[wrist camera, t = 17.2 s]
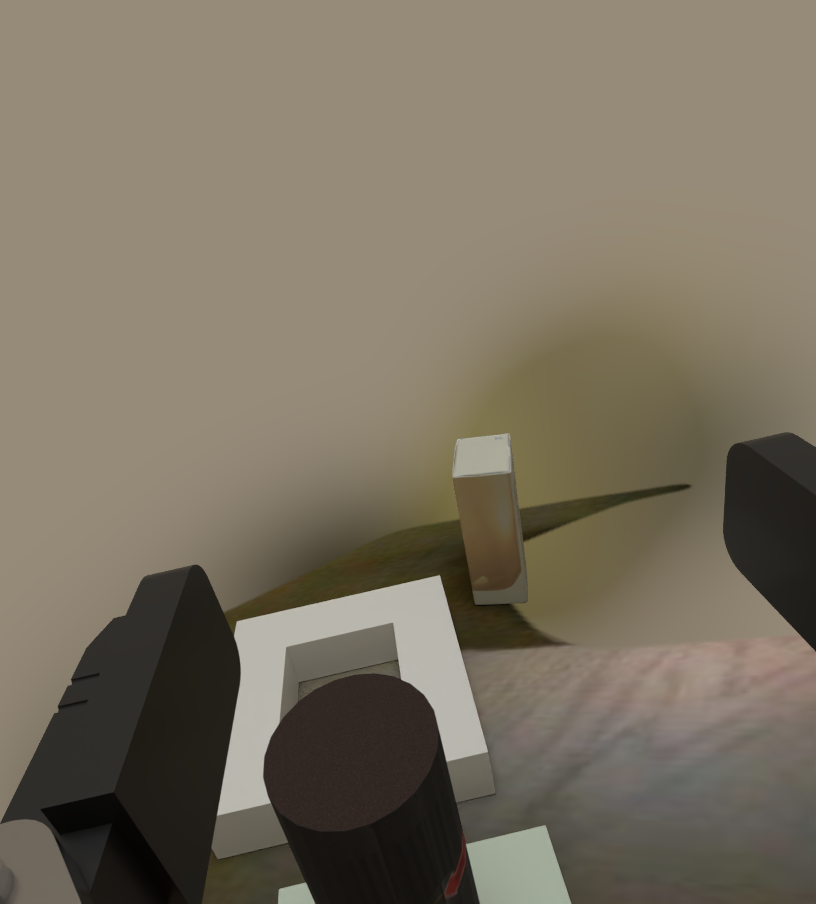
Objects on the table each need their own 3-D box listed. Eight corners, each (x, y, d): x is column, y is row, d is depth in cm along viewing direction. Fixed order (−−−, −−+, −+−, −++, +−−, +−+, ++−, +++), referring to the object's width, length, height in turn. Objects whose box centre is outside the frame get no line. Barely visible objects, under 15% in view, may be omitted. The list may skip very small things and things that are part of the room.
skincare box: (476, 559, 54) (455, 436, 49) (526, 556, 54) (510, 430, 48) (473, 609, 49) (449, 475, 43) (529, 606, 48) (511, 469, 43)
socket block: (446, 610, 49) (439, 575, 48) (495, 793, 35) (487, 751, 33) (250, 655, 49) (237, 621, 47) (217, 859, 34) (196, 820, 33)
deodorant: (333, 988, 27) (228, 762, 21) (422, 874, 31) (356, 651, 24) (434, 1109, 23) (342, 876, 17) (522, 961, 27) (475, 722, 20)
